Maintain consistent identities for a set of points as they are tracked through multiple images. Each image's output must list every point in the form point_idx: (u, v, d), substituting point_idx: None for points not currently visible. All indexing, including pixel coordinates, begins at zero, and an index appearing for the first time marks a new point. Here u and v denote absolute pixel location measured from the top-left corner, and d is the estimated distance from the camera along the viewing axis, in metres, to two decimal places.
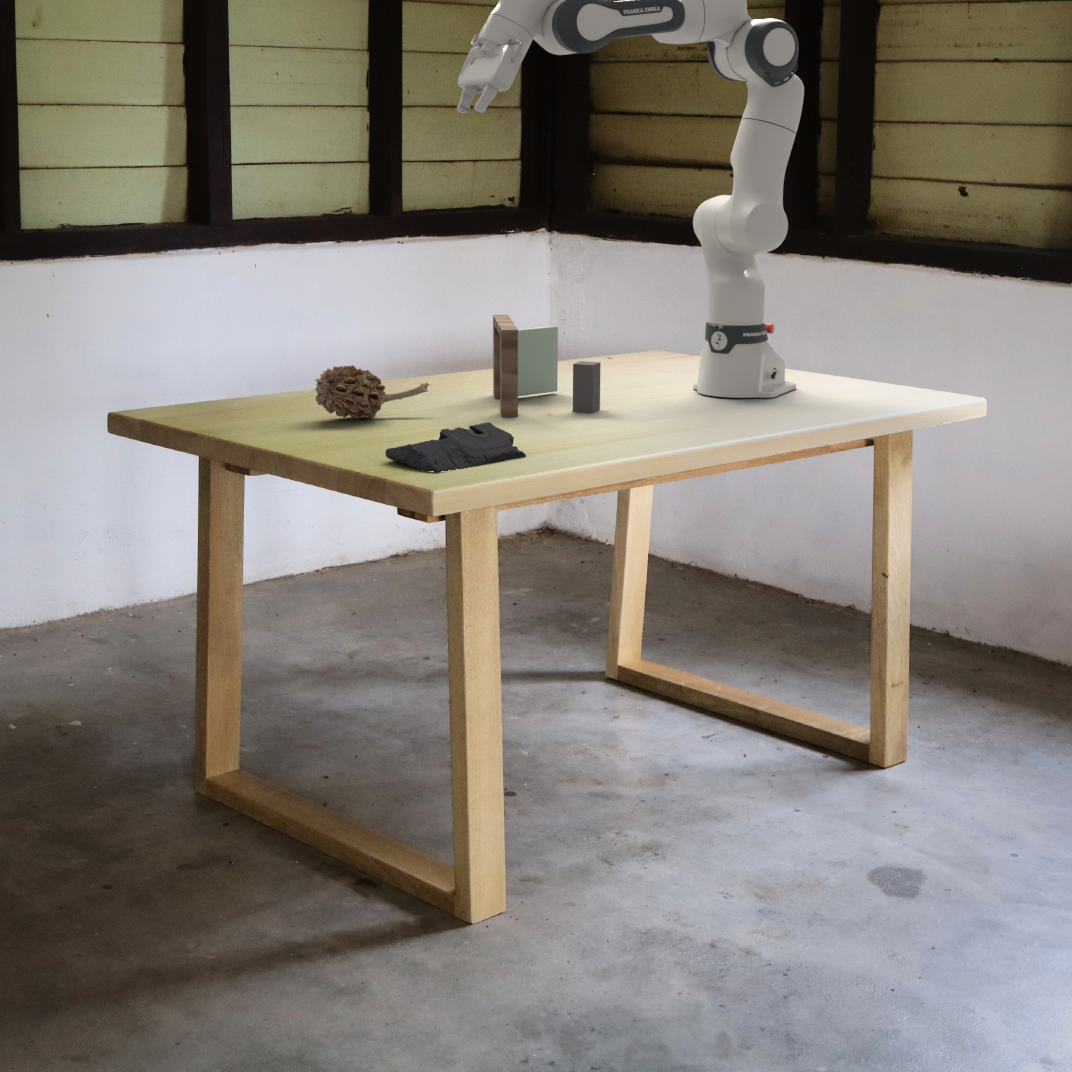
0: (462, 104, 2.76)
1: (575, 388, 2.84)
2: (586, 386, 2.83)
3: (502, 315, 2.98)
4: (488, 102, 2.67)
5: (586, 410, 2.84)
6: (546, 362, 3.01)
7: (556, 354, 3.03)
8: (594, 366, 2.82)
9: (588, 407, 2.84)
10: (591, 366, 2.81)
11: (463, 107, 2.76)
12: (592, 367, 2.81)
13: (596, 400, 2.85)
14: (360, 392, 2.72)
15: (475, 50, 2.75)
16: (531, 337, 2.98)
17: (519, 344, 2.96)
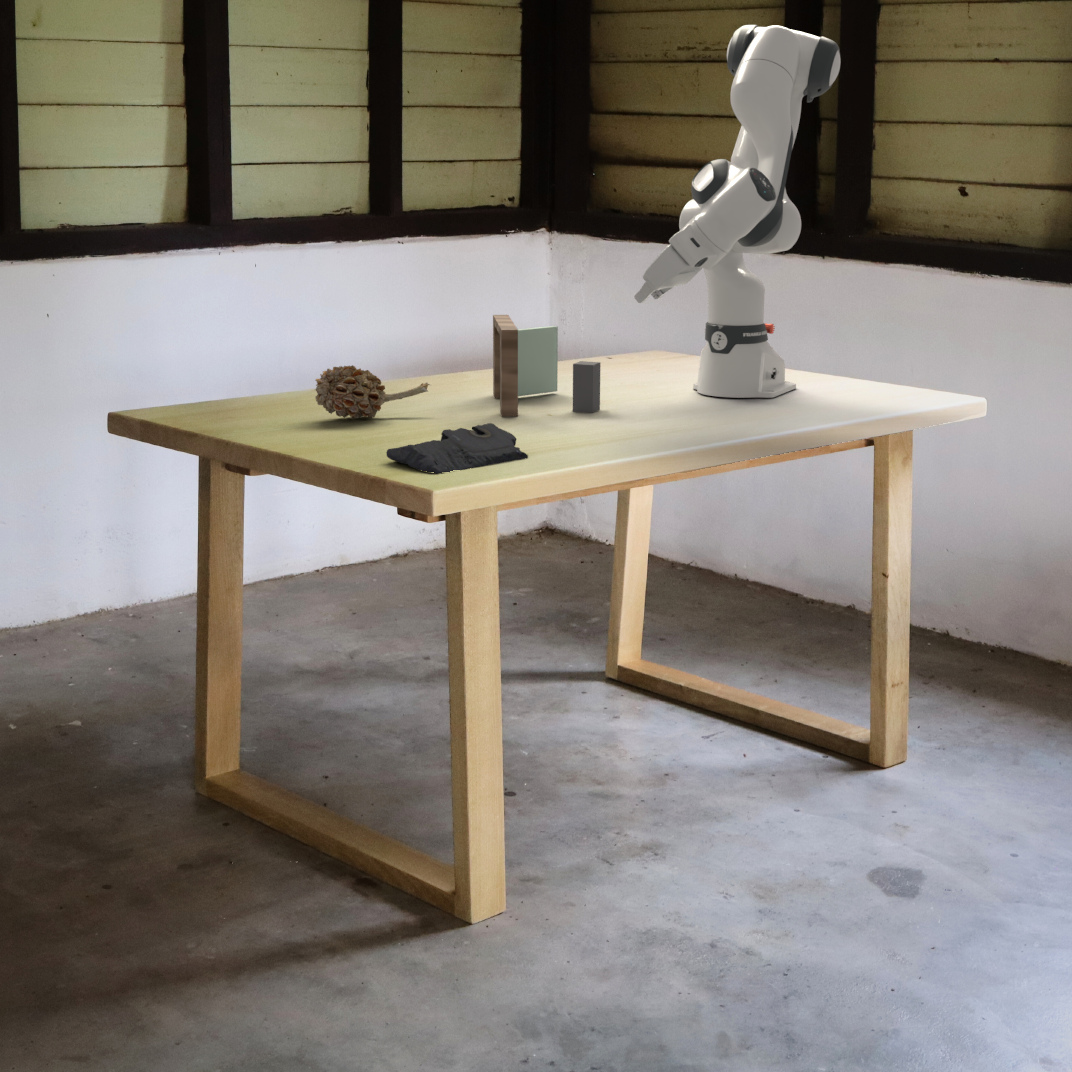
0: None
1: (575, 388, 2.84)
2: (586, 386, 2.83)
3: (502, 315, 2.98)
4: None
5: (586, 410, 2.84)
6: (546, 362, 3.01)
7: (556, 354, 3.03)
8: (594, 366, 2.82)
9: (588, 407, 2.84)
10: (591, 366, 2.81)
11: None
12: (592, 367, 2.81)
13: (596, 400, 2.85)
14: (360, 392, 2.72)
15: None
16: (531, 337, 2.98)
17: (519, 344, 2.96)
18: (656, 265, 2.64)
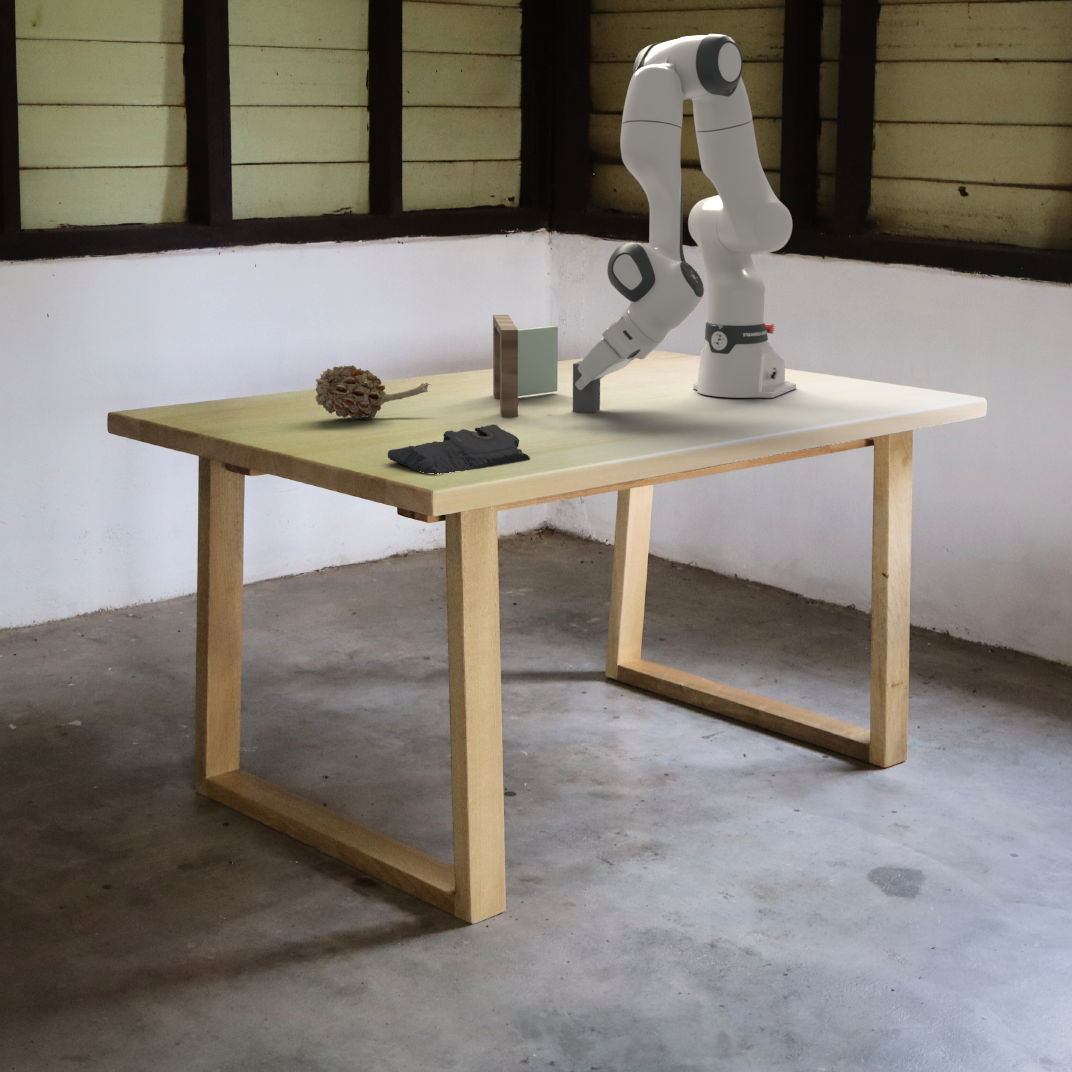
0: None
1: (575, 388, 2.84)
2: None
3: (502, 315, 2.98)
4: None
5: (586, 410, 2.84)
6: (546, 362, 3.01)
7: (556, 354, 3.03)
8: None
9: (588, 406, 2.84)
10: None
11: None
12: None
13: (596, 400, 2.85)
14: (360, 392, 2.72)
15: None
16: (531, 337, 2.98)
17: (519, 344, 2.96)
18: (590, 358, 2.73)
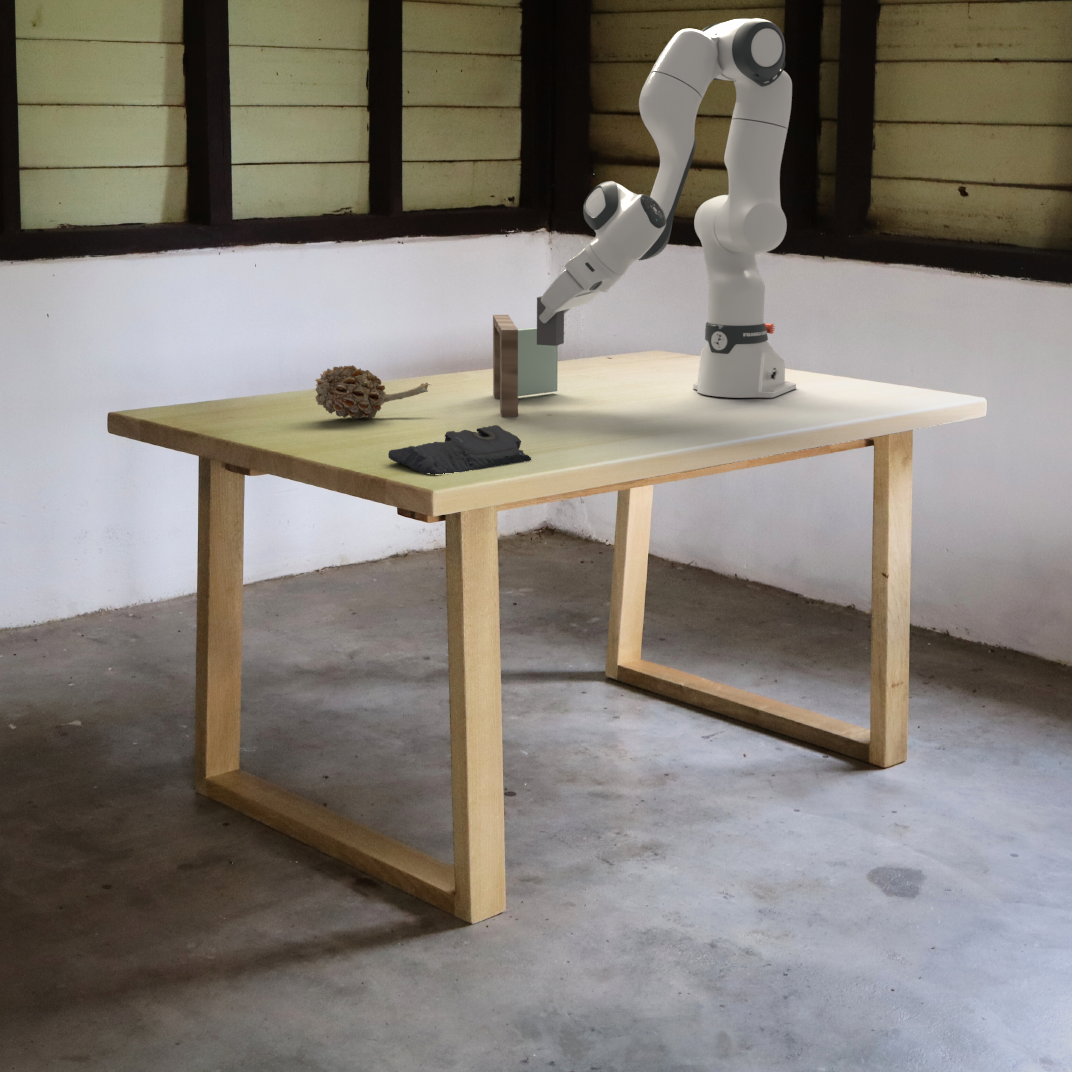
0: None
1: (539, 321, 2.88)
2: None
3: (502, 315, 2.98)
4: None
5: (550, 343, 2.88)
6: (546, 362, 3.01)
7: (556, 354, 3.03)
8: None
9: (552, 340, 2.88)
10: None
11: None
12: None
13: (560, 334, 2.89)
14: (360, 393, 2.72)
15: (585, 292, 2.80)
16: (531, 337, 2.98)
17: (519, 344, 2.96)
18: (553, 289, 2.77)
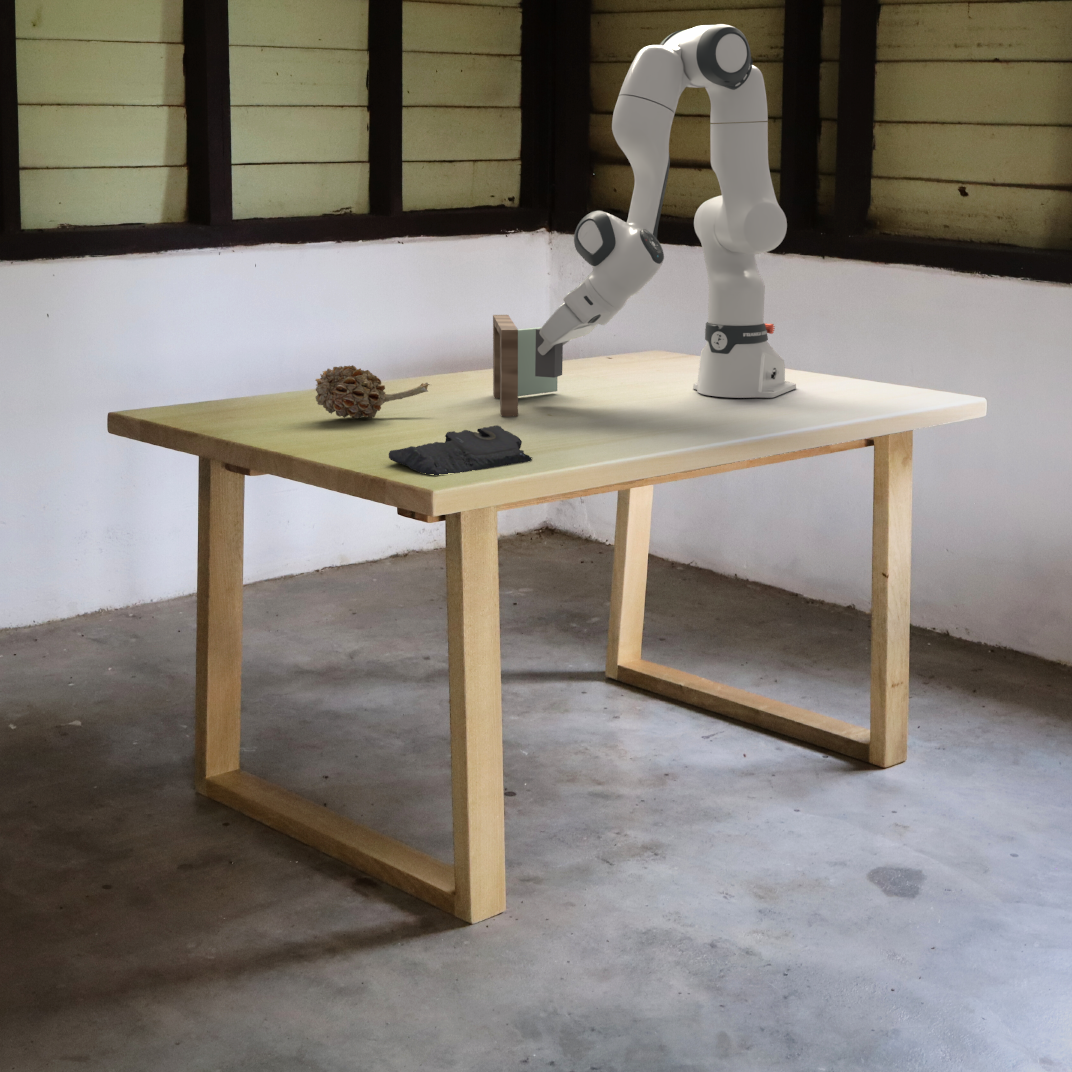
0: None
1: (538, 353, 2.89)
2: (549, 351, 2.88)
3: (502, 315, 2.98)
4: None
5: (548, 375, 2.90)
6: None
7: None
8: None
9: (550, 371, 2.89)
10: None
11: None
12: None
13: (559, 365, 2.91)
14: (360, 392, 2.72)
15: (584, 325, 2.81)
16: (531, 337, 2.98)
17: (519, 344, 2.96)
18: (551, 322, 2.78)
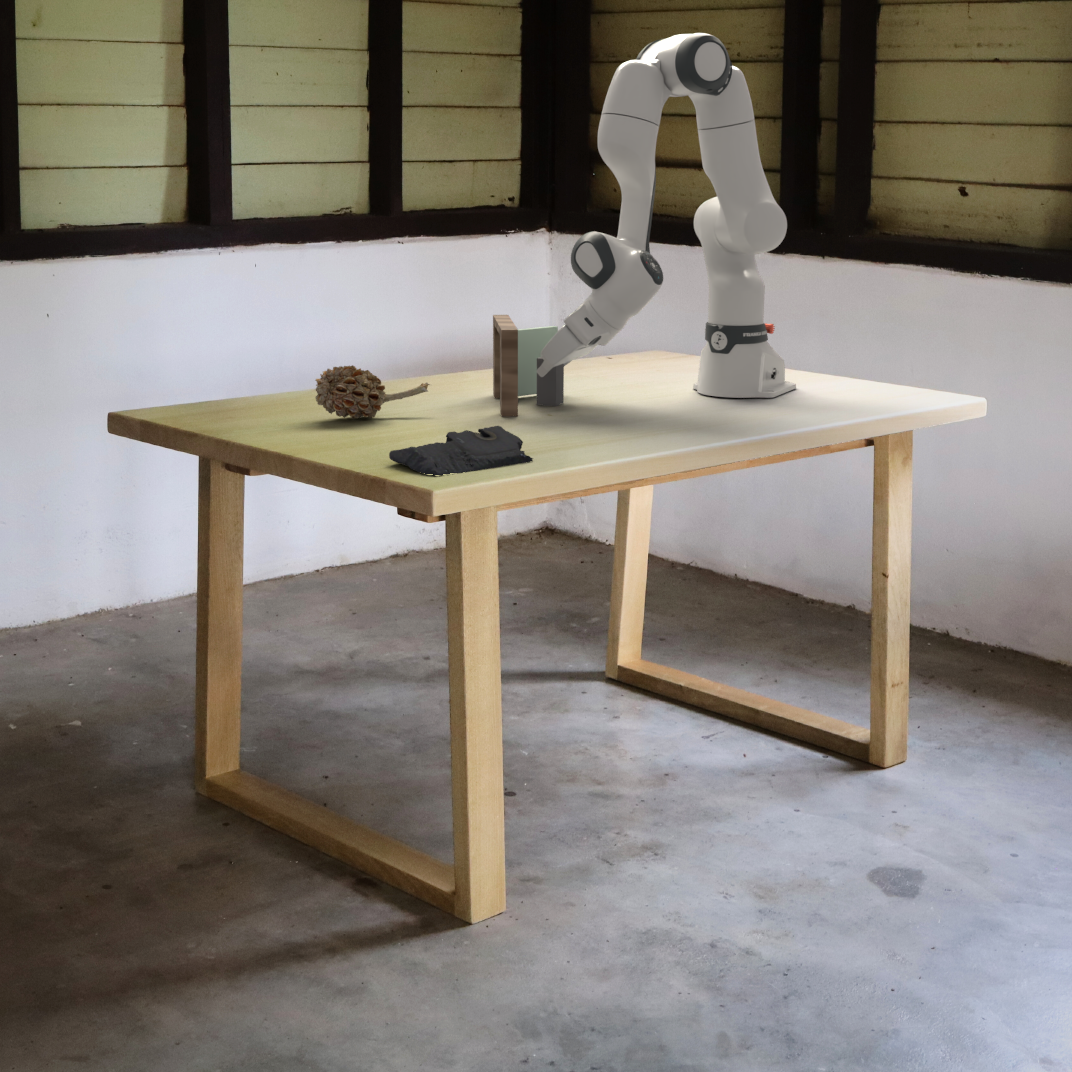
0: (547, 371, 2.88)
1: (539, 382, 2.91)
2: (550, 380, 2.90)
3: (502, 315, 2.98)
4: None
5: (550, 403, 2.91)
6: None
7: None
8: None
9: (551, 400, 2.91)
10: None
11: None
12: None
13: (560, 394, 2.92)
14: (360, 392, 2.72)
15: (584, 346, 2.82)
16: (531, 337, 2.98)
17: (519, 344, 2.96)
18: (552, 344, 2.79)
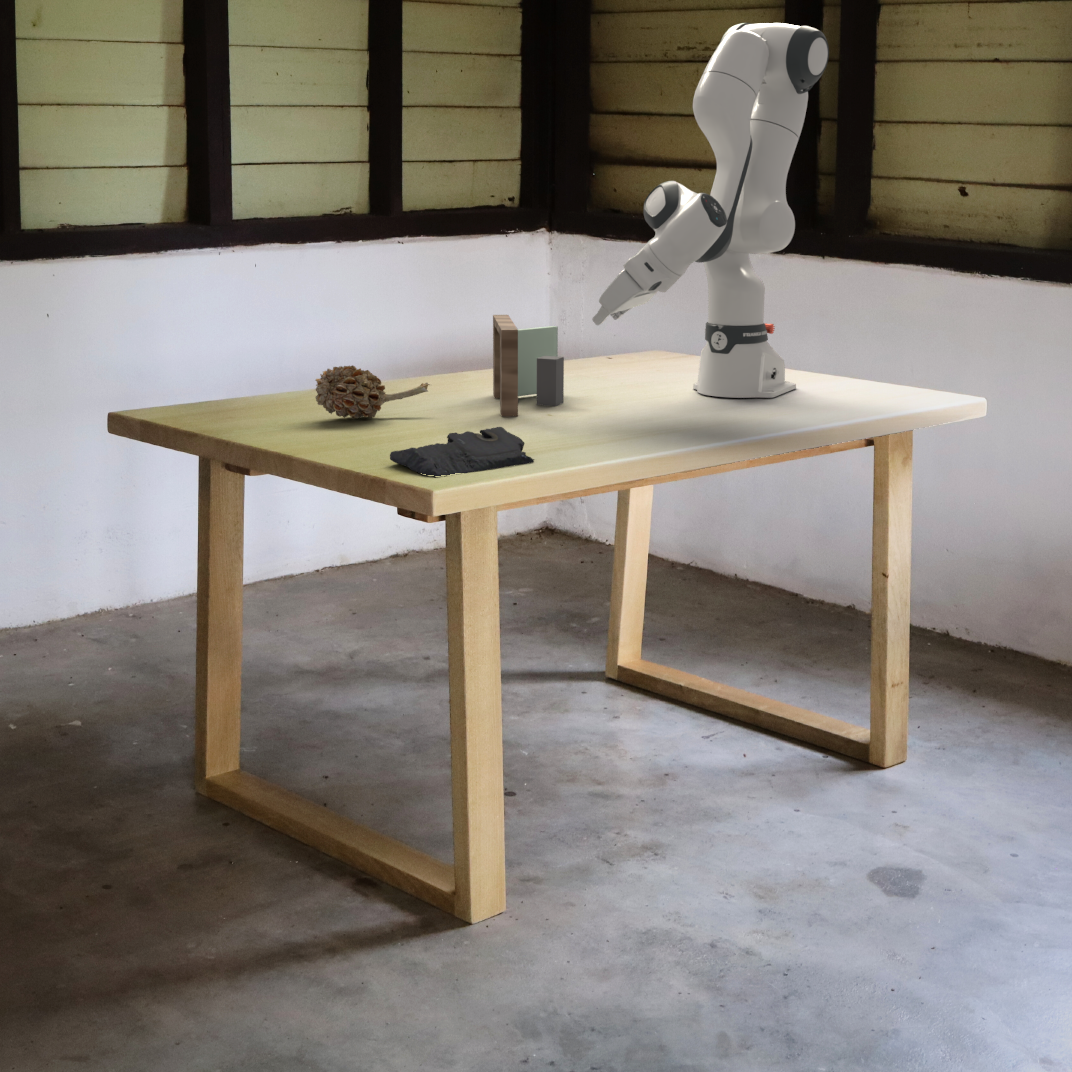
0: None
1: (539, 382, 2.91)
2: (550, 380, 2.90)
3: (502, 315, 2.98)
4: None
5: (550, 403, 2.91)
6: None
7: (556, 354, 3.03)
8: (557, 361, 2.89)
9: (551, 400, 2.91)
10: (554, 360, 2.89)
11: None
12: (555, 361, 2.89)
13: (560, 394, 2.92)
14: (360, 392, 2.72)
15: None
16: (531, 337, 2.98)
17: (519, 344, 2.96)
18: (611, 290, 2.72)
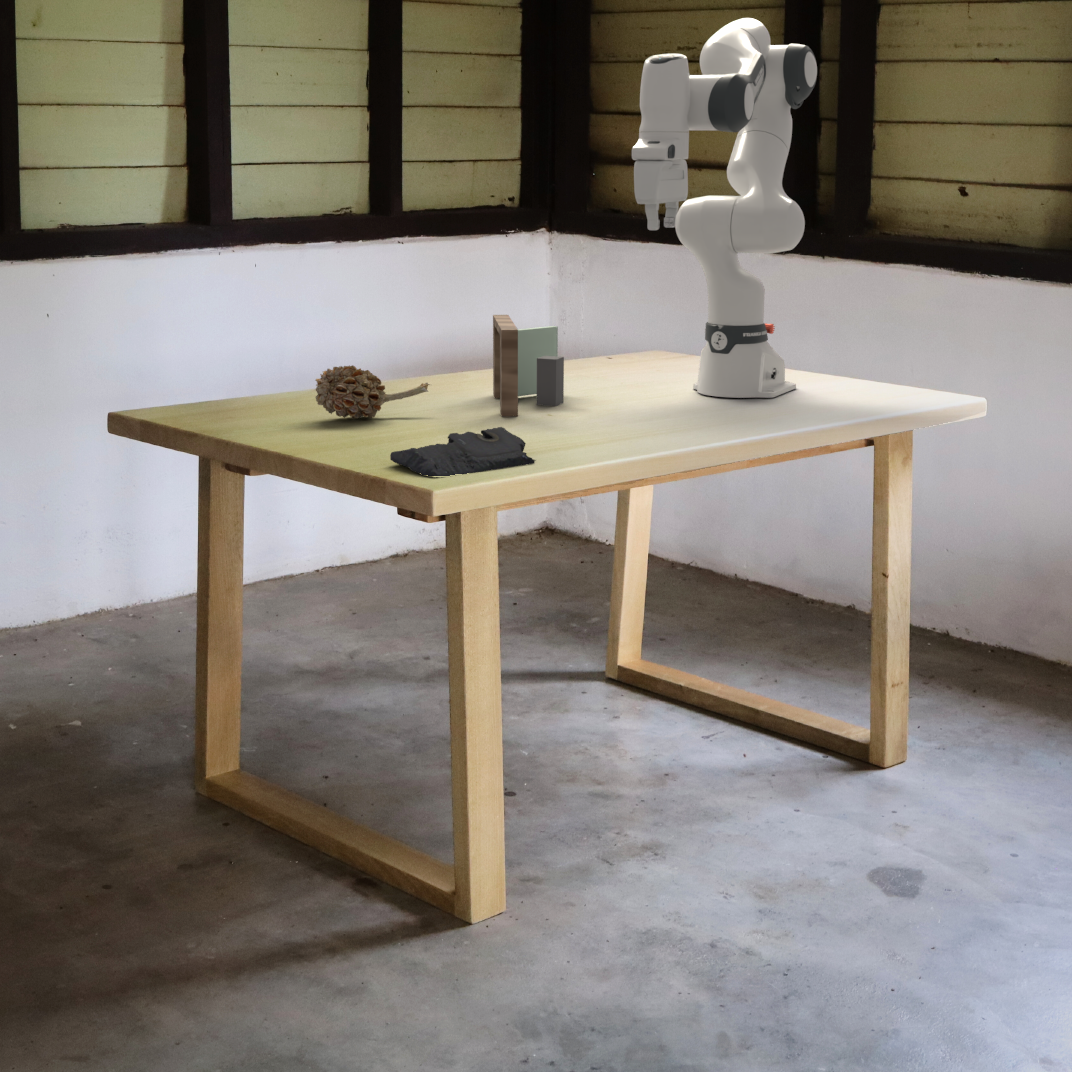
0: None
1: (539, 382, 2.91)
2: (550, 380, 2.90)
3: (502, 315, 2.98)
4: None
5: (550, 403, 2.91)
6: None
7: (556, 354, 3.03)
8: (557, 361, 2.89)
9: (551, 400, 2.91)
10: (554, 360, 2.89)
11: None
12: (555, 361, 2.89)
13: (560, 394, 2.92)
14: (360, 392, 2.72)
15: (668, 166, 2.63)
16: (531, 337, 2.98)
17: (519, 344, 2.96)
18: (639, 183, 2.61)
